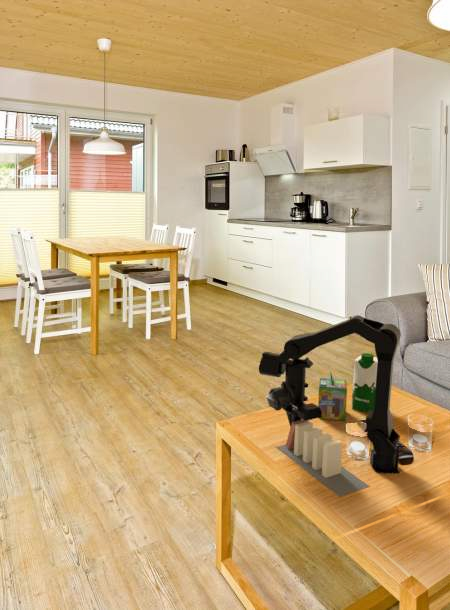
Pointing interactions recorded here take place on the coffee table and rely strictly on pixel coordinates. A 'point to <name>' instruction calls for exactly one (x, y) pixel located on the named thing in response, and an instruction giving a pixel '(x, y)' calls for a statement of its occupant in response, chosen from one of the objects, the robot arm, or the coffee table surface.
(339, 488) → the mat
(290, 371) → the robot arm
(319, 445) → the domino
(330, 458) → the domino
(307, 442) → the domino
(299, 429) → the domino
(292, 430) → the domino
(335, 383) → the juice carton
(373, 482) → the coffee table surface
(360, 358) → the milk carton
